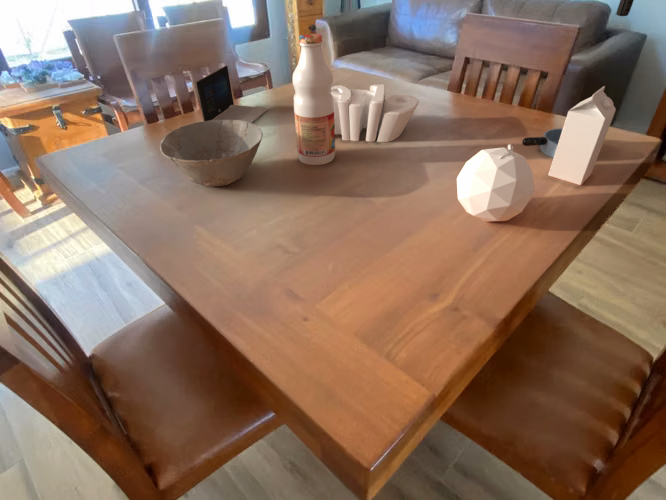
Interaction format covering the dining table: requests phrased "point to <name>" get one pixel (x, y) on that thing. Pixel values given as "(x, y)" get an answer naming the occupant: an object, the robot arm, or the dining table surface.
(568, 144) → the milk carton
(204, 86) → the laptop
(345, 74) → the dining table surface
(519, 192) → the geodesic sphere
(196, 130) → the ceramic bowl
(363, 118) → the wavy white extrusion
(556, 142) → the pan
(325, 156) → the fruit juice
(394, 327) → the dining table surface
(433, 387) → the dining table surface
